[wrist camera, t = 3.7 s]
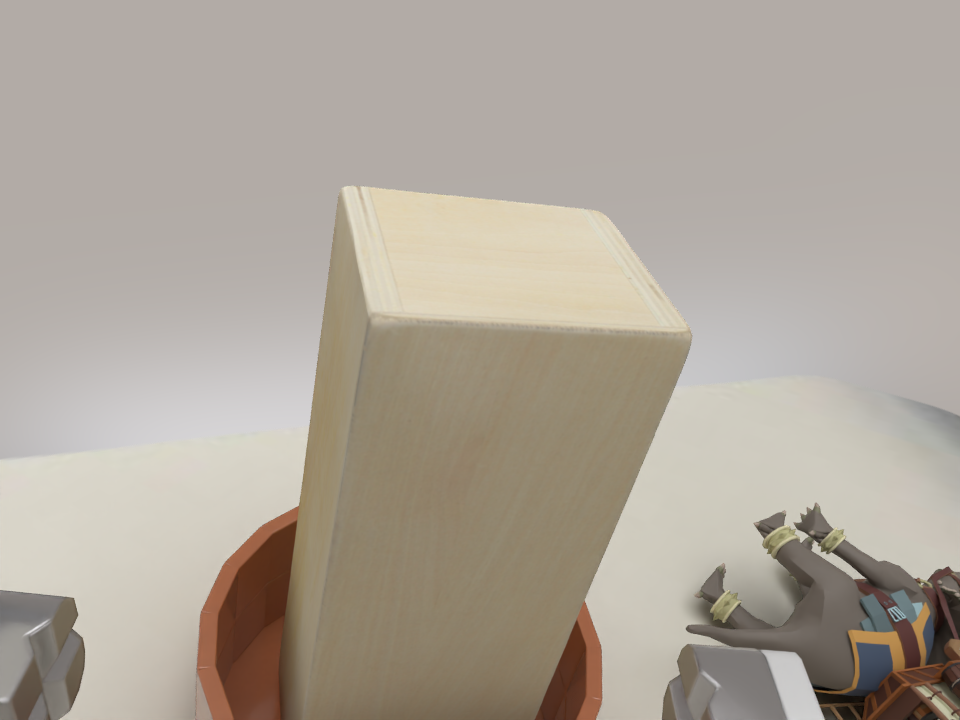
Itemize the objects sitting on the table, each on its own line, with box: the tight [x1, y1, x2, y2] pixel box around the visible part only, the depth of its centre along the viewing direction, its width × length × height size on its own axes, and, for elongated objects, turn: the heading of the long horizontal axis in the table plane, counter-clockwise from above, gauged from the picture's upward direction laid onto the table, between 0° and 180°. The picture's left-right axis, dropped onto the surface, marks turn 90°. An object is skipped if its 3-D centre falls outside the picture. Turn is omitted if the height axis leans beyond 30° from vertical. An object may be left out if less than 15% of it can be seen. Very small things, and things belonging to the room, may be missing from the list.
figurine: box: [686, 503, 960, 720], centre depth 37 cm, size 20×6×17 cm
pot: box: [195, 506, 602, 720], centre depth 32 cm, size 14×14×6 cm
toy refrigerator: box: [279, 186, 692, 720], centre depth 27 cm, size 8×7×21 cm
